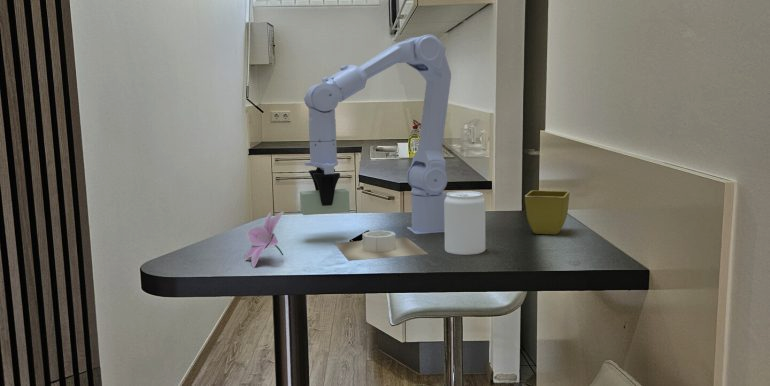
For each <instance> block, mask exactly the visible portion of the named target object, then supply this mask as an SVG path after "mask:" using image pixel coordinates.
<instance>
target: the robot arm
mask: <svg viewBox="0 0 770 386" xmlns="http://www.w3.org/2000/svg"><path fill="white" fill-rule="evenodd" d="M403 63H405V64H407V65H408V66H410V67H412V68H413V69H415V70H416V71H418V73H420V75H421V76H422V77H423V79H424V80H425V81H426V83H425V91H424V92H425V93H424V99H423V105H422V106H423V107H422V115H421V123H420V131H419V138H418V147H417V150H416V152H415V153H414V154H413V157H412V161H411V165H410V166H409V168H408V170H407V172H406V181H407V183H408V185H409V186H410V188H411V191H410V192H411V195H410V197H411V200H410V201H411V202H410V203H411V206H410V207H411V226H407V227H406V228H407V229H408V230H409V231H411V232H412V233H414V234H415V235H419V234H421V235H422V234H431V233H432V234H434V233H445V222H444V200H445V198H446V197H447V193H448V192H444V190H445V189H446V187H447V184H448V174H447V171H446V165H447V162H446V159H445V158H444V156H443V153H442V151H443V150H442V149H443V143H444V134H445V129H446V128H445V126H446V121H447V120H446V119H447V111H448V104H449V96H450V87H451V80H452V71H451V69H450V66H449V62H448V60H447V56H446V46H445V45H444V44H443V43H442V42H441V41H440V39H439V38H438V37H437V36H435V35H433V34H424V35H422V36H415V37H414V36H413V37H408V38H407V39H406V38H405V40H403V41H400V42H397V43H395V44H393V45H390V46H389V47H387V48H386V49H385V50H383V51H382V52H380V53H379V54H377V55H375V56H374V57H372V58H371V59H369V60H367V61H365V62H364V63H362V64H361V65H360V66H359V65H358V66H357V65H355V64H350V65H347V64H345V65H342V66H340V67H339V69H340V71H338V72H335V73H334V74H332V75H331V76H329V77H327V76H325V77H322V78H321V83H319V84H318V83H317V84H313V85H312V86H310V87H309V88H308V89H307V90H306V93H305V97H303V100H304V105H305V106H306V107H307V108H308V137H309V139H308V141H309V159H310V161H304V166H306V167H307V166H308V167H309V166H310V167H314V168H315V169H311V170H308V173H309V175H310V177H311V180H312V181H313V184H314V188H315V190H319V194H320V199H321V203H322V206H330V205H332V204H333V199H334V192H335V189H336V188H337V183H338V181H339V179H340V176H341V173H340V172H336V169H335V167H337V166H338V164H339V161H338V155H337V154H338V153H337V152H338V151H337V128H336V127H337V126H336V125H337V123H336V108H337V107H338V104H339V103H341V102H343V101H345V100H347V99H348V98H350V97H352V96H353V95H355V94H356V93H358V92H360V91H361V90H363V89H365V87H366V85H367V81H368V79H370V78H372V77H374V76H376V75H378V74H380V73H381V72H383V71H385V70H387V69H389V68H391V67H392V66H394V65H396V64H403Z"/></svg>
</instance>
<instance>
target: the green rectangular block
mask: <svg viewBox="0 0 770 386" xmlns="http://www.w3.org/2000/svg"><path fill="white" fill-rule="evenodd" d="M299 198H300V200H299V201H300V203H299V204H300V213H301V214H302V215H303V216H309V215H310V216H311V215H325V214H329V215H330V214H340V213H341V214H342V213H343V214H344V213H350V191H349V190H348V189H346V188H337V189H336V188H335V192H334V199H333V204H332V205H330V206H322V203H321V199H320V194H319V190H316V189H315V190H303V191H301V190H300V191H299Z"/></svg>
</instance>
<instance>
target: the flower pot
mask: <svg viewBox="0 0 770 386" xmlns="http://www.w3.org/2000/svg"><path fill="white" fill-rule="evenodd" d="M570 193H571V192H570V190H536V189H535V190H534V189H533V190H530V191H529V192H527V194H525V195H524V205H525V211H526V212H525V213H526V218H527V222H528V224H529V227H530V228H531V230H532V232H533V233H534V234H535V235H540V234H541V235H553V236H554V235H555V236H557V235H558V234H559V233H560V231H562V229H563V226H564V224H565V222H566V219H567V216H568V212H569V202H570Z"/></svg>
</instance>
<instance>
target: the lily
mask: <svg viewBox="0 0 770 386" xmlns="http://www.w3.org/2000/svg"><path fill="white" fill-rule="evenodd" d="M284 213H285V211H281V212H278V213H277V214H276V215H274V216H273V217H272V212H271V211H270V212H269V213H268V214H267V216H266V218H265V219H264V222H263V223H262V226H261V225H256V226H254V227H251V228H250V229H248V230H247V232H246V237H247V241H248V242H249V243H250V245H251V246H250V248H249V249H248V251H247V252H246V255H245V256H244V259H245V260H244V261H246V260H248V259H249V258H251V266H254V268H255V267H256V265H257V264H258V261H259V259H260V257H261V255H262V253H263V251H264V250H265V249H266V248H268V249H269V248H271V247H276V249H277V250H278V251H279V252H280V254H281V255H282V256H284V253H283V251H282V250H281V249H280V247H279V246H278V244H279V241H278V238H277V236H276V234H275V233H274V231H275V228H276V227H277V224H278V223H279V221H280V220H281V218H282V216H283V214H284Z"/></svg>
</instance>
